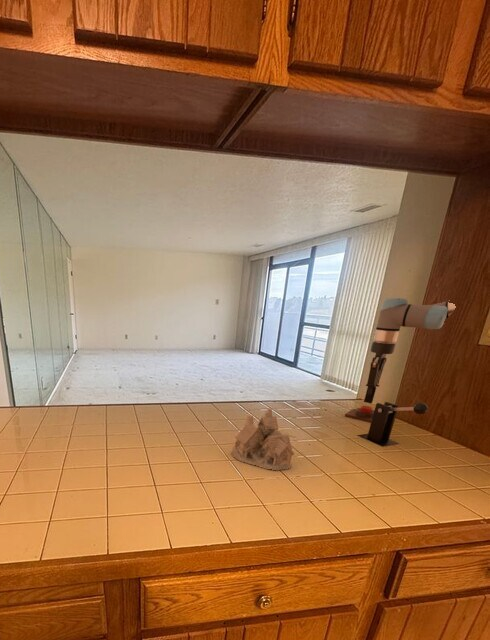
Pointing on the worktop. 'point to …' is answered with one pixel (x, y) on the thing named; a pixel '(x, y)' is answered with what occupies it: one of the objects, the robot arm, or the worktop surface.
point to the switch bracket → (381, 425)
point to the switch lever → (412, 408)
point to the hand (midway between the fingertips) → (367, 402)
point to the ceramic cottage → (263, 444)
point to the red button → (366, 409)
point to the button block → (360, 415)
